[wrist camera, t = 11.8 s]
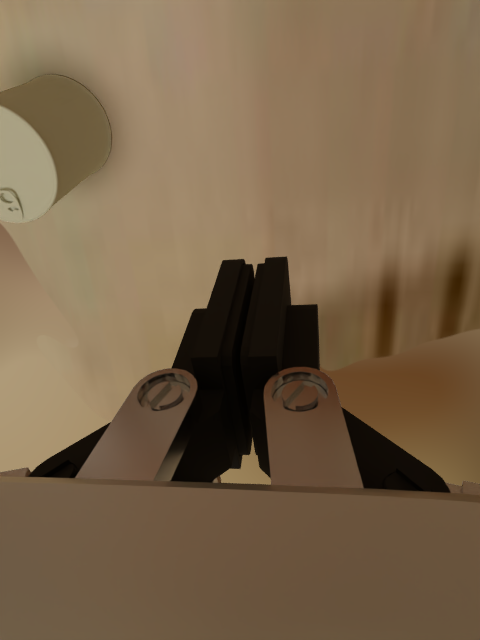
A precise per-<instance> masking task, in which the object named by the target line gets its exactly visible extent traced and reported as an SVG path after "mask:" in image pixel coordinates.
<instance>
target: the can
mask: <svg viewBox="0 0 480 640" xmlns="http://www.w3.org/2000/svg"><path fill="white" fill-rule="evenodd" d="M110 149H111V129H110V125H109V121H108V118H107V116H106V114H105V111H104V110H103V108H102V106H101V104H100V103H99V102H98V100H97V99H96V98H95V96H94V95H93V94H92V93H91V92H90V91H89V90H87V89H86V88H85V87H84V86H82V85H81V84H80V83H78V82H76V81H74V80H72V79H70V78H67V77H64V76H60V75H43V76H39V77H37V78H35V79H33V80H31V81H30V82H28V83H26V84H23V85H20V86H17V87H14V88H11V89H8V90H5V91H2V92H0V220H2V221H6V222H11V223H26V222H31V221H34V220H36V219H39V218H40V217H42V216H43V215H45V214H46V213H47V212H48V211H49V210H50V208H51V207H52V206H53V205H54V204H55V203H57V202H58V201H59V200H60V199H61V198H62V197H63V196H65V195H66V194H67V193H68V192H69V191H71V190H72V189H73V188H74V187H75V186H77V185H78V184H79V183H80V182H81V181H83V180H84V179H85V178H86V177H88V176H89V175H91V174H93V173H95V172H96V171H98V170H99V169H100V168H101V167H102V166H103V165H104V163H105V162H106V160H107V158H108V156H109V153H110Z"/></svg>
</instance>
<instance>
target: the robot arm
mask: <svg viewBox="0 0 480 640" xmlns="http://www.w3.org/2000/svg"><path fill="white" fill-rule="evenodd" d="M319 368H320V364H319V329H318V306H317V304H313V305H291V296H290V284H289V271H288V260H287V257H273V258H266V259H265V263H263V264H258V265H257V270H256V275H255V278H254V270H253V265H252V264H245V260H244V259H237V260H223V261H222V264H221V267H220V270H219V273H218V276H217V279H216V282H215V285H214V288H213V291H212V294H211V297H210V300H209V303H208V306H207V308H205V309H195V310H194V311H193V312H192V315H191V317H190V320H189V323H188V325H187V328H186V331H185V333H184V336H183V339H182V342H181V344H180V347H179V350H178V352H177V355H176V358H175V360H174V363H173V366H172V368H171V369H163V370H159V371H156V372H153V373H151V374H149V375H147V376H146V377H144V378H143V379H141V380H140V381H139V382H138V383H137V384H136V385H135V387H134V388H133V389H132V391H131V392H130V394H129V395H128V397H127V399H126V400H125V402H124V403H123V405H122V406H121V408H120V409H119V411H118V412H117V414H116V415H115V417H114V419H113V420H112V422H110V423H108V424H107V425H105V426H103V427H102V428H100V429H98V430H96V431H95V432H93V433H91V434H90V435H88V436H86V437H85V438H83V439H81V440H79V441H78V442H76V443H74V444H73V445H71V446H69V447H68V448H66V449H64V450H62V451H61V452H59V453H57V454H55V455H54V456H52V457H50V458H49V459H47V460H46V461H44V462H43V463H42V464H40V465H39V466H37V467H36V469H35V470H34V471H33V472H30V470H29V468H22V469H16V470H11V471H5V472H0V640H480V484H477V483H473V482H468V481H463V483H462V486H458V485H454V484H449V483H445V482H444V480H443V479H442V478H441V477H440V476H439V475H438V474H437V473H436V472H434V471H433V470H432V469H431V468H429V467H428V466H426V465H425V464H423V463H422V462H421V461H419V460H417V459H416V458H415V457H413V456H412V455H410V454H409V453H407V452H406V451H404V450H403V449H402V448H400V447H399V446H397V445H396V444H394V443H393V442H392V441H390V440H389V439H387V438H386V437H384V436H383V435H381V434H380V433H378V432H377V431H375V430H374V429H373V428H371V427H370V426H368V425H367V424H365V423H364V422H362V421H361V420H360V419H358V418H357V417H355V416H354V415H352V414H351V413H350V412H348V411H346V410H345V409H344V408H342V407H341V404H340V400H339V397H338V393H337V390H336V386H335V385H334V383H333V381H332V379H331V378H330V377H328V375H326V374H325V373H323V372H321V371H320V369H319ZM252 437H253V442H254V448H255V453H256V455H258V461H259V467H260V468H261V469H262V470H263V471H264V472H265V473H266V474H267V475H268V476H269V477H270V478H271V485H264V484H263V485H262V484H233V483H221V477H220V475H221V474H223V473H224V472H225V471H227V470H228V469H230V468H232V469H240V468H241V461H242V455H249V454H250V451H251V445H252Z"/></svg>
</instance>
